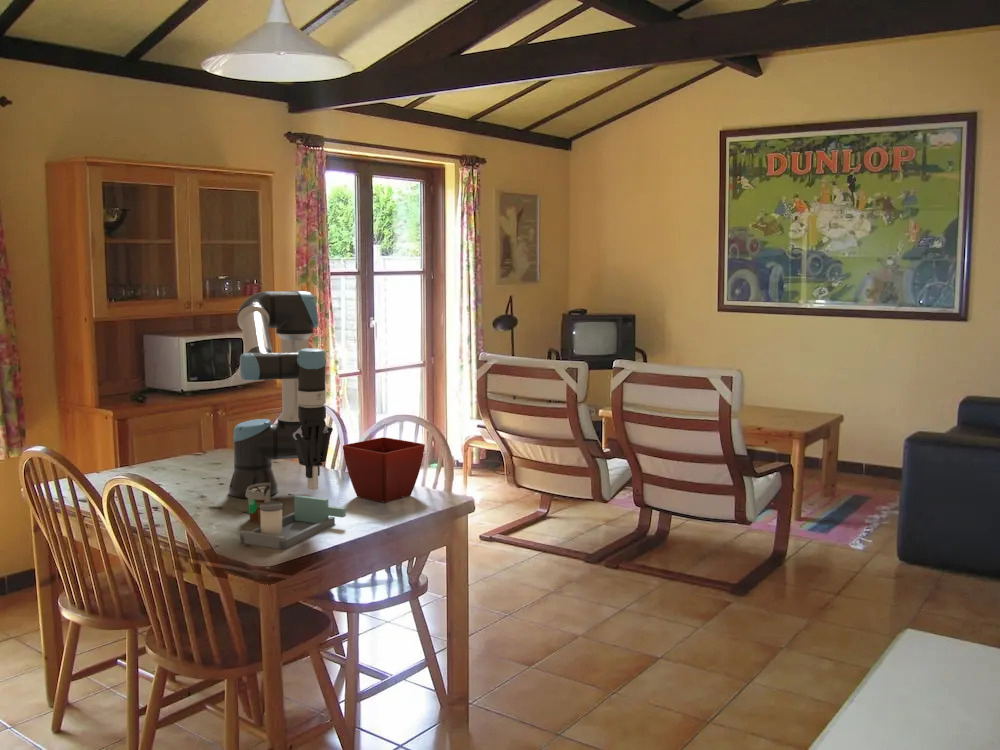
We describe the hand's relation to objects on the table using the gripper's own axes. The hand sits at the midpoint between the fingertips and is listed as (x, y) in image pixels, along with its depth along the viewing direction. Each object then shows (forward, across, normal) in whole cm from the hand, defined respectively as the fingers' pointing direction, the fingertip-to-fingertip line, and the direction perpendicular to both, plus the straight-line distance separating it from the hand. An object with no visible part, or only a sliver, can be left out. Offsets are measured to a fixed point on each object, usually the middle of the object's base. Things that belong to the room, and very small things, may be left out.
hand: (312, 488), depth 263 cm
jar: (+11, -15, -2) cm, 19 cm away
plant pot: (+13, +39, +13) cm, 43 cm away
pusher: (+11, +4, +2) cm, 12 cm away
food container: (+13, -5, +19) cm, 23 cm away
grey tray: (+12, -8, +1) cm, 14 cm away
